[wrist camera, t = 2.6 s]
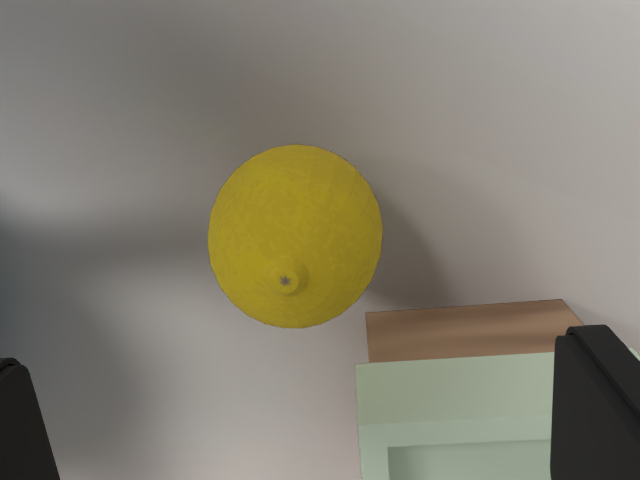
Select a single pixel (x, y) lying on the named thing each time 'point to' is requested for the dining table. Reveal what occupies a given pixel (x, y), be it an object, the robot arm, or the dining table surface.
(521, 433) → the sage top block
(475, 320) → the walnut block
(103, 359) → the dining table surface
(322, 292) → the lemon
